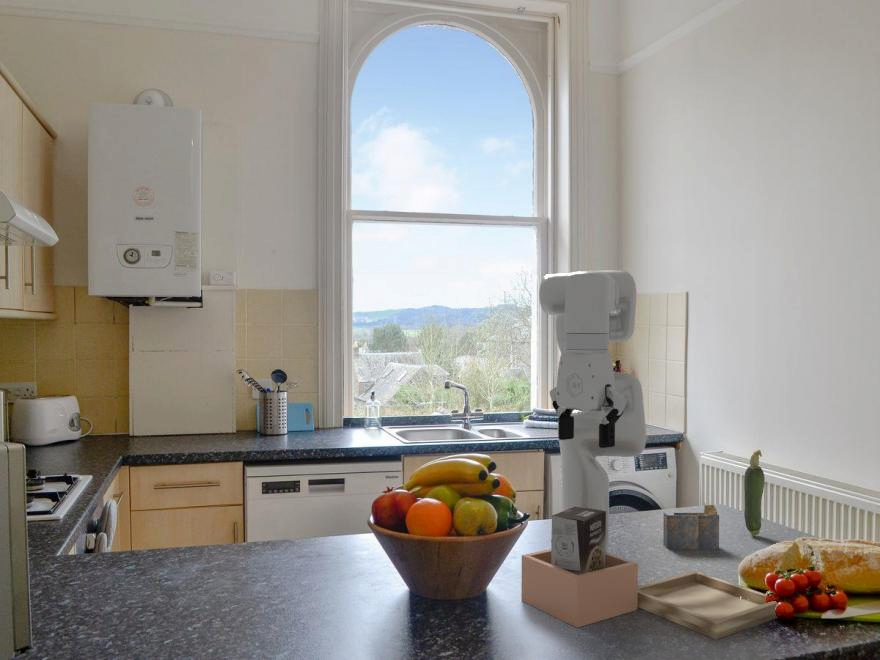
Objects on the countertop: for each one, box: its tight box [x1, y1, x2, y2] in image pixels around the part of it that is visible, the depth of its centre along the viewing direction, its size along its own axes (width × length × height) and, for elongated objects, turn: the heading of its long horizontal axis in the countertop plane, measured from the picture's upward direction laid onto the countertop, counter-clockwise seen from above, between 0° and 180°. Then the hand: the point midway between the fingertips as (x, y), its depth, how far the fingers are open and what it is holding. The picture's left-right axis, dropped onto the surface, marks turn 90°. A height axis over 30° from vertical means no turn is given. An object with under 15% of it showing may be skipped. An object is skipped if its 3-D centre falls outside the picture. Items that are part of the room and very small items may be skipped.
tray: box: [637, 570, 779, 641], centre depth 128 cm, size 18×18×2 cm
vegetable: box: [743, 449, 766, 537], centre depth 173 cm, size 4×4×20 cm
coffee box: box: [550, 507, 606, 575], centre depth 129 cm, size 9×6×16 cm
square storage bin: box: [520, 548, 639, 628], centre depth 129 cm, size 14×14×8 cm
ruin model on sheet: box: [662, 502, 720, 550], centre depth 164 cm, size 25×16×10 cm, turn 89°
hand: (585, 443), depth 129 cm, fingers open, 9 cm apart
